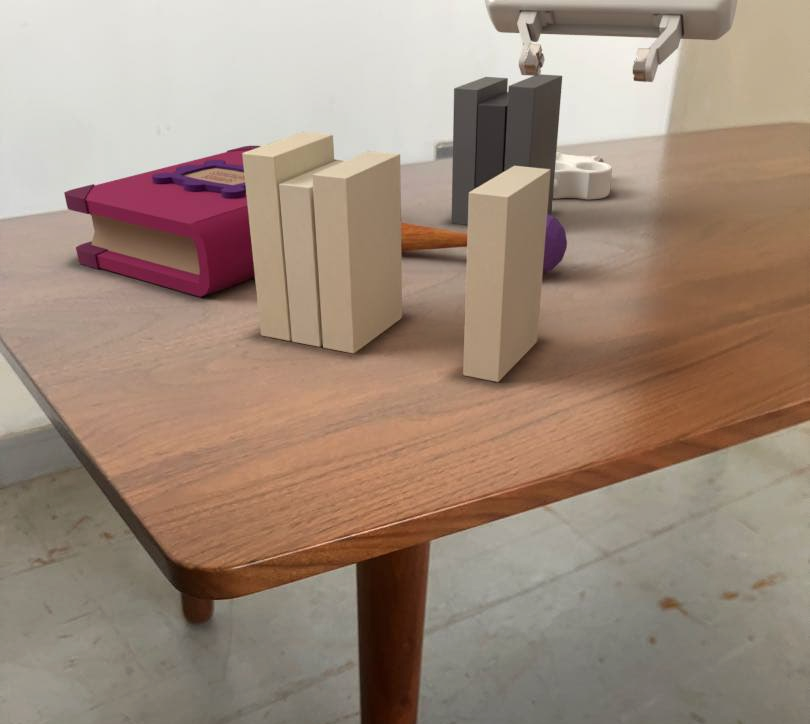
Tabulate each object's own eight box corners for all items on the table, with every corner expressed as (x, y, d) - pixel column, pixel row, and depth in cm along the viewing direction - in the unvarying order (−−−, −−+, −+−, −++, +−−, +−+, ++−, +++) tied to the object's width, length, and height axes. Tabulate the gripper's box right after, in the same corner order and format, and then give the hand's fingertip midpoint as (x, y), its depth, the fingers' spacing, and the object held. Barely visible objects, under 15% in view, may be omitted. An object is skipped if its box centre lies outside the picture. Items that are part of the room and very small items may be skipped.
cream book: (537, 341, 78) (550, 169, 70) (498, 382, 72) (508, 196, 64) (504, 336, 79) (514, 165, 71) (462, 375, 73) (468, 192, 65)
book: (389, 231, 105) (388, 161, 101) (211, 301, 87) (200, 219, 83) (256, 203, 116) (250, 139, 111) (72, 261, 97) (56, 187, 93)
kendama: (398, 205, 100) (576, 211, 91) (398, 262, 102) (572, 273, 94) (371, 208, 95) (557, 214, 86) (372, 267, 97) (553, 279, 89)
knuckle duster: (625, 180, 124) (596, 207, 113) (499, 168, 130) (461, 192, 119) (628, 153, 122) (599, 178, 111) (500, 143, 128) (461, 165, 117)
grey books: (551, 212, 111) (562, 75, 103) (525, 232, 105) (535, 87, 96) (480, 204, 115) (485, 70, 106) (451, 222, 108) (453, 82, 99)
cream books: (402, 317, 83) (400, 140, 75) (353, 353, 76) (345, 164, 68) (314, 302, 87) (302, 131, 78) (260, 335, 80) (241, 152, 71)
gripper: (503, -106, 76) (454, 40, 75) (759, -113, 68) (711, 50, 67) (519, -45, 82) (474, 92, 80) (757, -45, 74) (712, 107, 73)
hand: (583, 73), depth 74 cm, fingers open, 8 cm apart
